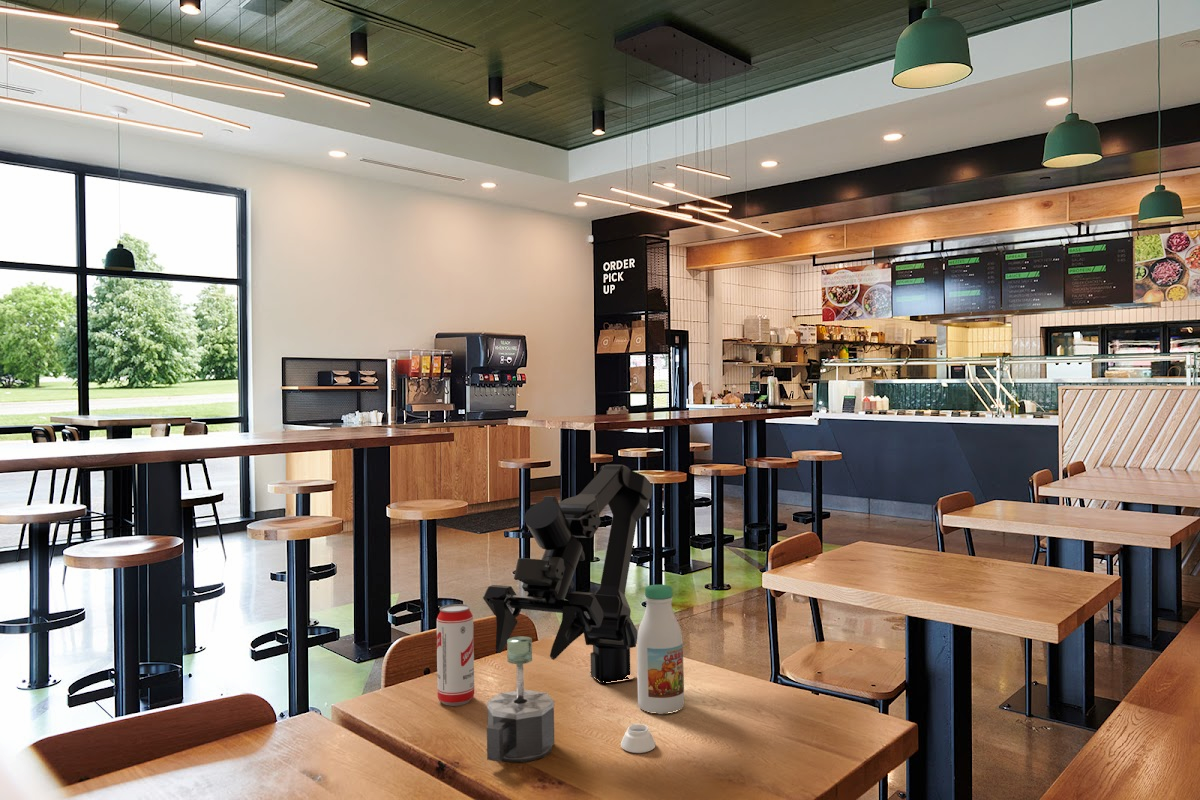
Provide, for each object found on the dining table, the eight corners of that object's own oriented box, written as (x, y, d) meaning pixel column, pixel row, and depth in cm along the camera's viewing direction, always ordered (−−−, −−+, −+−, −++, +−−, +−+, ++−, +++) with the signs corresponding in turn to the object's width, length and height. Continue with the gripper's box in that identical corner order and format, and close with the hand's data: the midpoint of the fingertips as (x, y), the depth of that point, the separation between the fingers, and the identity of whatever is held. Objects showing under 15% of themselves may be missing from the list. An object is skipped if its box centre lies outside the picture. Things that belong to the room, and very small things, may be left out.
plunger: (516, 701, 120) (515, 635, 120) (537, 704, 118) (536, 637, 118) (503, 709, 116) (502, 641, 117) (525, 712, 115) (524, 644, 115)
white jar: (652, 756, 114) (657, 742, 119) (652, 735, 114) (656, 722, 119) (618, 754, 115) (624, 740, 120) (618, 733, 115) (624, 720, 120)
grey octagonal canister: (510, 733, 123) (509, 687, 123) (563, 741, 120) (562, 694, 120) (465, 765, 112) (464, 715, 112) (522, 776, 108) (521, 724, 108)
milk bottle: (631, 712, 131) (629, 590, 131) (646, 696, 138) (644, 580, 138) (676, 718, 128) (674, 593, 128) (689, 702, 135) (687, 583, 136)
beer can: (478, 694, 141) (477, 603, 141) (469, 707, 134) (467, 612, 135) (443, 693, 141) (442, 603, 141) (432, 706, 135) (431, 611, 135)
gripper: (488, 534, 128) (449, 619, 117) (594, 539, 120) (562, 631, 110) (514, 574, 135) (479, 658, 124) (615, 582, 127) (587, 672, 117)
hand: (524, 654), depth 119 cm, fingers open, 9 cm apart
